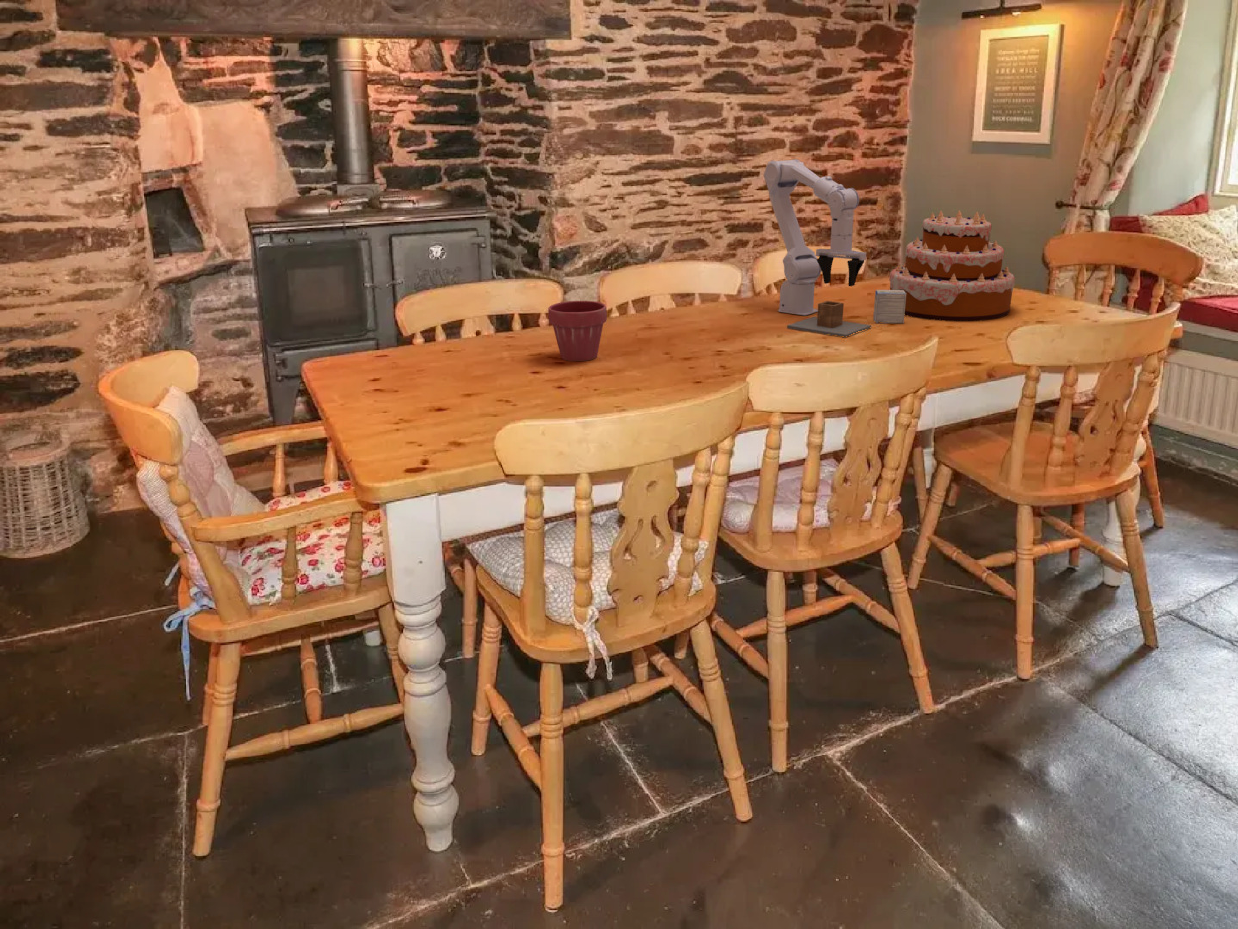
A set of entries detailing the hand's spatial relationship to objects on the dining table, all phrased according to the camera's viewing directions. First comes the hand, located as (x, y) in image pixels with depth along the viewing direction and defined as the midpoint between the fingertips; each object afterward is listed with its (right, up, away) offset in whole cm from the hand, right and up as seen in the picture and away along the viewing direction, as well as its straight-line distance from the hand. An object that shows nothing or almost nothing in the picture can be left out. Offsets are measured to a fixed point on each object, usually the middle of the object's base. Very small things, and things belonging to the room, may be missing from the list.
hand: (839, 284), depth 279 cm
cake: (+36, -4, +17) cm, 40 cm away
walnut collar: (-4, -12, -4) cm, 13 cm away
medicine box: (+14, -10, +2) cm, 18 cm away
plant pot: (-71, -23, -29) cm, 81 cm away
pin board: (-4, -13, -4) cm, 14 cm away
